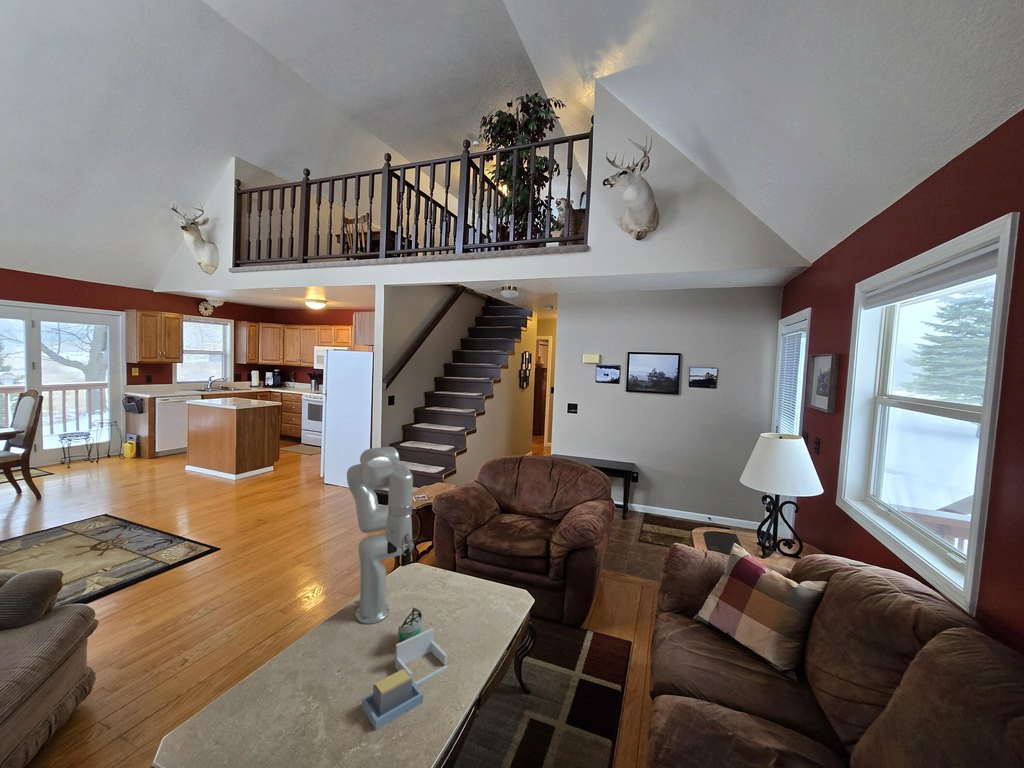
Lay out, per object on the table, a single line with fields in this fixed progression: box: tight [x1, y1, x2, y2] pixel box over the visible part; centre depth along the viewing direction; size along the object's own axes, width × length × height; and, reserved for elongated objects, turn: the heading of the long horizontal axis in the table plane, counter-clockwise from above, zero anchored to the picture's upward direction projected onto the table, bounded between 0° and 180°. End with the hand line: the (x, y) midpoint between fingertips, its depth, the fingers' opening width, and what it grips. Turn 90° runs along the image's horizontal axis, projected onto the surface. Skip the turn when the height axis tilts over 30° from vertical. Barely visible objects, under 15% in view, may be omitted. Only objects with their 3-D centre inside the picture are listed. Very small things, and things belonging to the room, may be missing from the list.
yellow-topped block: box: [372, 669, 413, 716], centre depth 129 cm, size 5×10×7 cm, turn 132°
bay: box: [394, 627, 449, 688], centre depth 144 cm, size 12×14×8 cm
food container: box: [397, 606, 424, 643], centre depth 154 cm, size 12×6×10 cm, turn 168°
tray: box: [361, 680, 424, 731], centre depth 129 cm, size 10×15×3 cm, turn 132°
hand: (398, 558), depth 144 cm, fingers open, 9 cm apart
